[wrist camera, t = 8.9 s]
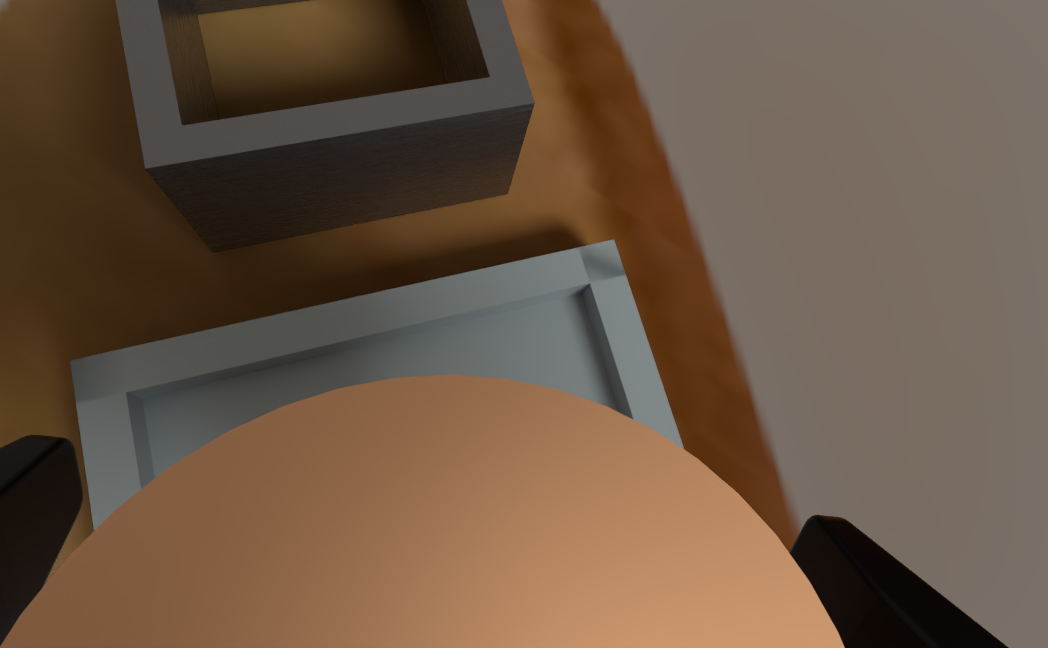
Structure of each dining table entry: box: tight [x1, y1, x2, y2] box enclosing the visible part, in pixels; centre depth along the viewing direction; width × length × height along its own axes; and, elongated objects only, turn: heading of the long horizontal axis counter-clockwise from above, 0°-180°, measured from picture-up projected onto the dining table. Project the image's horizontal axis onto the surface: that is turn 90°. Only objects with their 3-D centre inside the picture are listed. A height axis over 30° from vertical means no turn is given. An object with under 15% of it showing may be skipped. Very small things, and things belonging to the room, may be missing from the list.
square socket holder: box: [115, 0, 535, 252], centre depth 17 cm, size 8×8×4 cm
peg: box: [0, 375, 845, 648], centre depth 9 cm, size 4×4×13 cm
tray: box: [70, 240, 684, 531], centre depth 15 cm, size 13×13×2 cm
